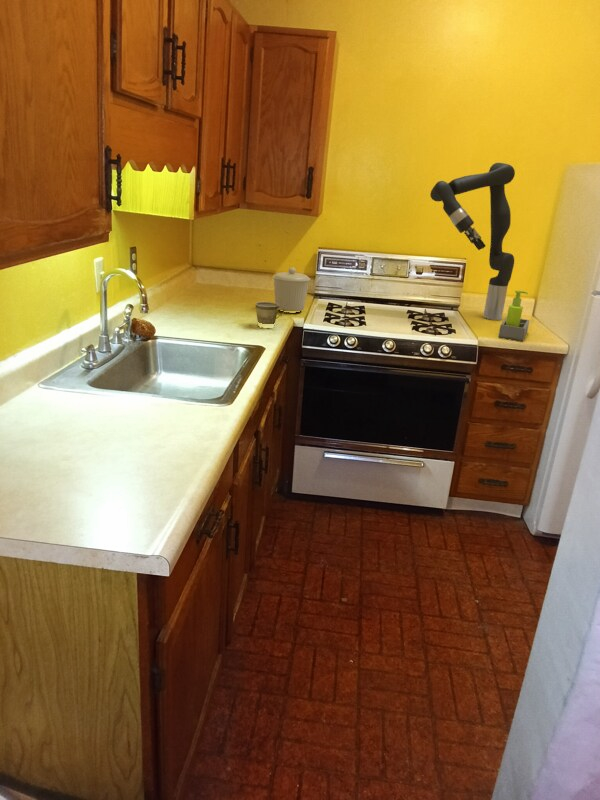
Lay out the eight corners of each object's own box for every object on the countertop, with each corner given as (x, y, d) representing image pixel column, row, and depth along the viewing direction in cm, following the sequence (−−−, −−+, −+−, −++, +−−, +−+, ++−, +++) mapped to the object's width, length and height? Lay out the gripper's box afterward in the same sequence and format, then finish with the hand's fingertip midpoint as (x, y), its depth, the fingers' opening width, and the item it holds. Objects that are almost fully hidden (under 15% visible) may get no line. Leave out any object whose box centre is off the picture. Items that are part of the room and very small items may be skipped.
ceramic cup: (250, 327, 264) (251, 304, 261) (260, 323, 273) (261, 300, 269) (278, 332, 260) (279, 308, 256) (287, 327, 269) (288, 304, 265)
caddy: (504, 329, 295) (506, 316, 293) (527, 332, 291) (529, 320, 289) (498, 337, 277) (500, 324, 275) (522, 341, 273) (525, 328, 271)
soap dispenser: (520, 337, 276) (529, 293, 269) (504, 335, 278) (512, 291, 271) (518, 334, 282) (527, 290, 275) (503, 332, 283) (511, 289, 276)
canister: (301, 307, 310) (304, 265, 303) (313, 315, 294) (316, 271, 287) (266, 307, 305) (268, 264, 297) (276, 315, 289) (279, 270, 281)
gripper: (465, 215, 275) (486, 244, 274) (470, 214, 287) (491, 241, 287) (451, 226, 279) (472, 254, 278) (457, 224, 291) (478, 252, 291)
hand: (482, 248), depth 283 cm, fingers open, 8 cm apart
